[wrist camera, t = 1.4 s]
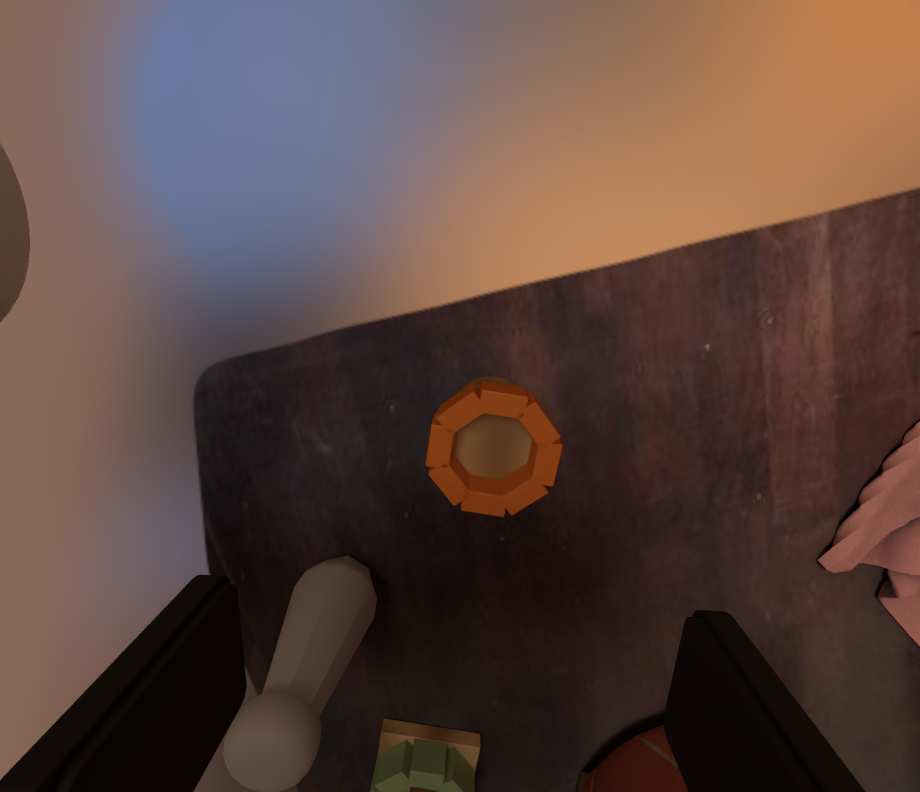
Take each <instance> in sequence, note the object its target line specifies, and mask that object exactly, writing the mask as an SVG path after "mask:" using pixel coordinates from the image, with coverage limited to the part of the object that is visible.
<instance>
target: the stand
mask: <svg viewBox="0 0 920 792" xmlns="http://www.w3.org/2000/svg"><path fill="white" fill-rule="evenodd" d="M482 381H487V382H493V383H500V384H506V385H512V386H516V385H515V384H514V383H512V382H511V381H509V380H507V379H504V378H501V377H497V376H484V377H479V378H476V379H473V380H471V381H469V382H468V383H466V384H465V385H464V386H462V387H461V388H460V389H459V391H458V392H457V393H456V394H458V393H459V392H460V391H462V390H463V389H465V388H466V387H468V386H469V385H471V384H472V383H475V384H476V386H477V387H478V388H479V390H480V386H481V382H482ZM531 442H532V437H531V436H530V434H529V433H528V432H527V430H526V429H525V428H524V426H523V425H522V423H521V422H520V421H519V419H515V418H509V417H503V416H496V415H490V414H484V413H483V414H482V415H480V416H479V417H478V418H476V419H475V420H473V421H472V422H470V423H469V424H467V425H466V426H464V427H463V428H461V429H460V430H458V431H457V432H455V434H454V440H453V446H452V452H453V453H454V455H455V456H456V457H457V459H458V460H459V461H460V463H461V464H462V465H463V466H464V468H465V469H466V470H467V472H468V473H469V474H470V475H475V476H481V477H487V478H494V479H500V480H501V479H503V478H504V477H506V476H507V475H509V474H511V473H512V472H514V471H515V470H517V469H518V468H520V467H522V466H523V465H525V464H526V463H527V461H528V456H529V452H530V447H531Z"/></svg>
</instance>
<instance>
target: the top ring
mask: <svg viewBox="0 0 920 792" xmlns="http://www.w3.org/2000/svg"><path fill="white" fill-rule="evenodd" d="M483 413H484V414H490V415H496V416H503V417H509V418H515V419H519V421H520V422H521V423H522V425H523V426H524V428H525V429H526V430H527V432H528V433H529V434H530V436H531V437H532V442H531V447H530V452H529V456H528V461H527V463H526V464H525V465H523V466H522V467H520V468H518V469H517V470H515V471H514V472H512V473H511V474H509V475H507V476H506V477H504V478H503V479H501V480H500V479H494V478H487V477H481V476H475V475H470V474H469V473H468V472H467V470H466V469H465V468H464V466H463V465H462V464H461V463H460V461H459V460H458V459H457V457H456V456H455V455H454V453H453V452H452V446H453V440H454V434H455V432H457V431H458V430H460V429H461V428H463V427H464V426H466V425H467V424H469V423H470V422H472V421H473V420H475V419H476V418H478V417H479V416H480V415H482V414H483ZM560 438H561V436H560V434H559V432H558V430H557V428H556V427H555V425H554V423H553V422H552V420H551V419H550V417H549V416H548V415H547V413H546V412H545V410H544V409H543V408H542V406H541V405H540V403H539V402H538V400H537V399H536V398H535V396H534V395H533V393H531V392H530V393H528V394H527V393H526V391H525V389H524V388H523V387H518V386H512V385H506V384H500V383H493V382H487V381H482V382H481V386H480V390H479V388H478V387H477V386H476V384H475V383H472V384H471V385H469V386H468V387H466V388H465V389H463V390H462V391H460V392H459V393H458V394H456V395H455V396H453V397H452V398H450V399H449V400H448V401H446V402H445V403H443V404H442V405H440V406H439V409H438V413H435V415H434V419H433V422H432V425H431V431H430V438H429V445H428V452H427V458H426V466H429V471H428V474H429V476H430V477H431V478H432V479H433V481H434V482H435V483H436V484H437V486H438V487H439V488H440V489H441V491H442V492H443V493H444V494H445V496H446V497H447V498H448V499H449V501H450V502H451V503H452V504H453V505H454V506H455V505H457V504H458V503H460V502H461V510H462V511H468V512H475V513H481V514H487V515H493V516H499V517H504V514H505V510H506V509H507V510H508V512H509V513H510V514H511V515H514V514H515V513H517V512H518V511H520V510H522V509H523V508H525V507H527V506H528V505H530V504H531V503H533V502H535V501H536V500H538V499H540V498H541V497H543V496H544V495H546V494H548V490H547V487H546V486H553V485H554V481H555V477H556V473H557V468H558V464H559V460H560V456H561V451H562V447H563V445H562V443H561V441H560Z"/></svg>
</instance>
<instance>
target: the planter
mask: <svg viewBox="0 0 920 792" xmlns="http://www.w3.org/2000/svg"><path fill="white" fill-rule="evenodd" d="M577 792H688V790H687V787H686V785H685V782H684V780H683V777H682V775H681V773H680V770H679V768H678V765H677V763H676V760H675V758H674V756H673V753H672V751H671V748H670V746H669V743H668V741H667V738H666V735H665V731H664V725H660V726H658V727H655V728H652V729H650V730H647V731H645V732H643V733H641V734H639V735H637V736H635V737H633V738H631V739H630V740H628V741H626V742H625V743H623V744H622V745H620V746H619V747H617V748H616V749H615V750H614V751H612V752H611V753H610V754H609V755H608V756H607V757H605V758H604V759H603V760H602V761H601V762H600V763H599V764H598V765H597V767H596V768H595V769H594V770H593V771H591V772H590V773H589V772H587V771H583V772H581V775H580V777H579V781H578V786H577Z"/></svg>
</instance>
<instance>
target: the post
mask: <svg viewBox="0 0 920 792" xmlns="http://www.w3.org/2000/svg"><path fill="white" fill-rule="evenodd" d="M415 738H416V739H422V740H429V741H435V742H441V743H446V744H447V749H446V751H447V750H449V749H451V748H453V747H455V749H456V750H457V751H458V752H459V753H460V754H461V755H462V756H463V757H464V758H465V759H466V760H467V761H468V763H469V764H470V765H471V766H472V767H473V773H474V774H475V770H476V765H477V761H478V757H479V752H480V734H479V733H473V732H467V731H461V730H455V729H448V728H442V727H436V726H429V725H423V724H417V723H411V722H404V721H398V720H392V719H384V720H383V725H382V730H381V735H380V742H379V749H378V756H377V758H380V757H381V753H382V752H384V751H385V750H387V749H389V748H391V747H393V746H395V745H397V744H399V743H401V742H402V741H404V740H408V741H409V743H410V744H411V745H412V746H413V744H414V739H415ZM403 792H438V791H437V790H430V789H424V788H418V787H410V788H408V789H406V790H404V791H403Z"/></svg>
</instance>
